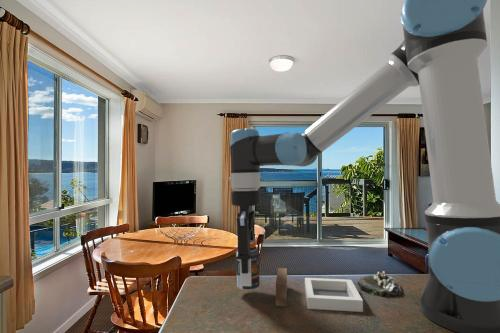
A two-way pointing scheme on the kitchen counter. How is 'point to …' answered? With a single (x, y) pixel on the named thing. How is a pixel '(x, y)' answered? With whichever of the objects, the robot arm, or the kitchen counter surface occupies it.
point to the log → (380, 285)
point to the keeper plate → (332, 295)
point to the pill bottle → (254, 268)
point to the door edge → (281, 287)
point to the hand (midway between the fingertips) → (247, 280)
